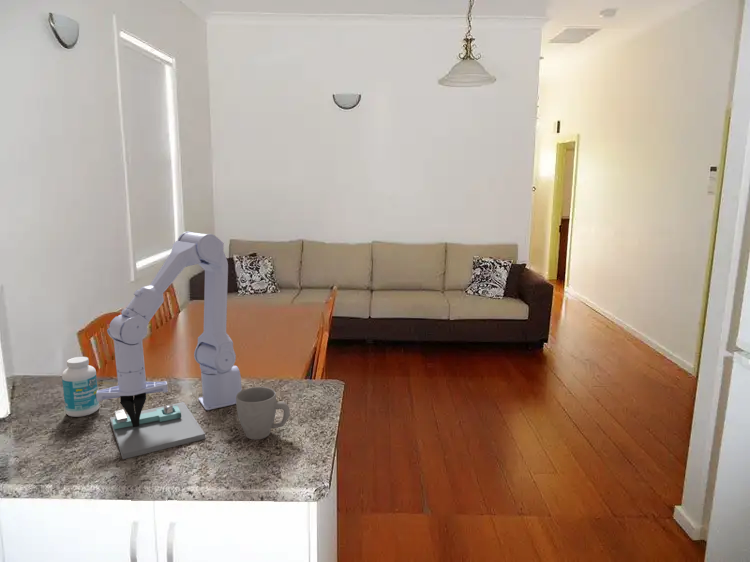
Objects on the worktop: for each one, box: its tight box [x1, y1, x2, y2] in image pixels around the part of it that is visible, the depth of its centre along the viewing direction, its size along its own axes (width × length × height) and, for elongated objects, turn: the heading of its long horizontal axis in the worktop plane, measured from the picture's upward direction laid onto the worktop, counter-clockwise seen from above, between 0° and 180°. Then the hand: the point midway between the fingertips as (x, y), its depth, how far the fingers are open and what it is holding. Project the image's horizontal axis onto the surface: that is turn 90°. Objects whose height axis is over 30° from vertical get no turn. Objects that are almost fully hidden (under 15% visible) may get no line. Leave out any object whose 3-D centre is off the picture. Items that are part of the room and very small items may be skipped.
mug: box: [235, 386, 291, 440], centre depth 125 cm, size 12×9×10 cm
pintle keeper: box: [114, 404, 173, 423], centre depth 130 cm, size 12×5×4 cm, turn 122°
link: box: [113, 405, 181, 429], centre depth 129 cm, size 14×5×1 cm, turn 119°
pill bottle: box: [61, 356, 100, 418], centre depth 136 cm, size 8×7×14 cm
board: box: [109, 401, 206, 460], centre depth 128 cm, size 17×20×1 cm
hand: (136, 425), depth 126 cm, fingers closed
